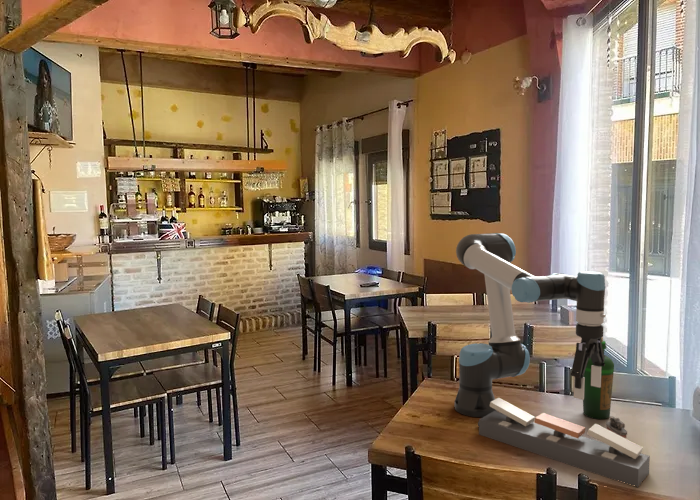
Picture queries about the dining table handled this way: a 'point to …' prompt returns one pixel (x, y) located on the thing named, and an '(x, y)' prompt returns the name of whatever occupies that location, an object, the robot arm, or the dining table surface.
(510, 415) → the block
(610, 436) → the rocker right
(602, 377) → the bottle
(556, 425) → the rocker middle
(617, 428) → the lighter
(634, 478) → the rocker switch base
